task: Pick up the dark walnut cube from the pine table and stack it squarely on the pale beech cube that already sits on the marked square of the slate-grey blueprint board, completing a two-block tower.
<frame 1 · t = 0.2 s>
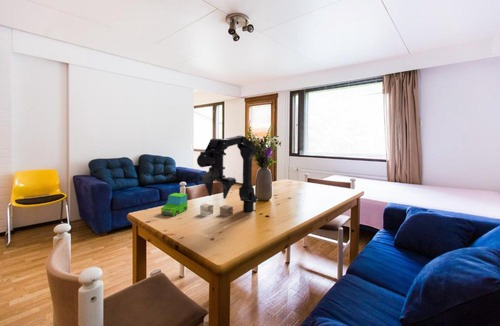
hand: (217, 197, 114), 14 cm above the table, fingers open, 9 cm apart
blueprint board: (205, 214, 131), on the table
walnut block: (226, 215, 130), on the table
toy car: (174, 214, 132), on the table
beech block: (206, 213, 130), point 1 cm above the table, touching blueprint board
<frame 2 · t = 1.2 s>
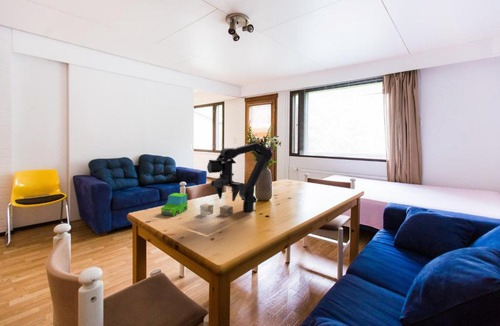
hand: (226, 199, 129), 9 cm above the table, fingers open, 9 cm apart
nothing on the table moved.
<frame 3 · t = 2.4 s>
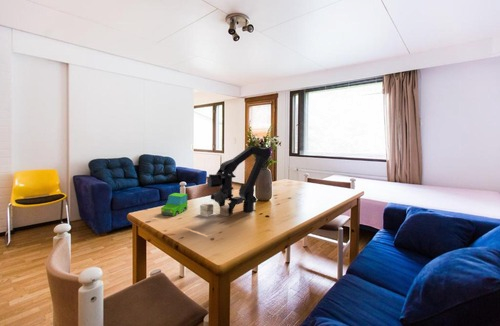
hand: (226, 213, 130), 1 cm above the table, fingers closed on walnut block, 5 cm apart
walnut block: (226, 215, 130), on the table, touching gripper
everything else where it was.
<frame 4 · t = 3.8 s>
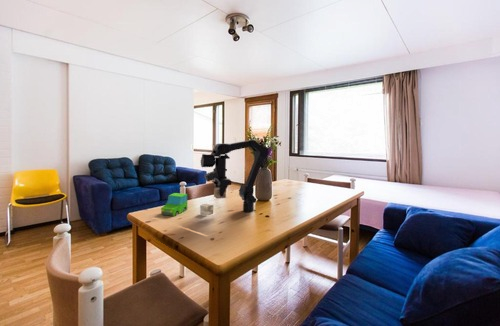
hand: (219, 195, 129), 11 cm above the table, fingers closed on walnut block, 5 cm apart
walnut block: (219, 197, 129), point 10 cm above the table, touching gripper
everything else where it was.
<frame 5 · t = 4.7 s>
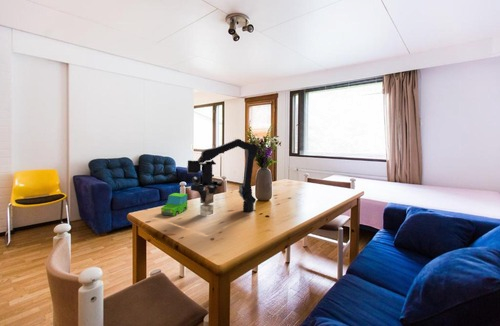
hand: (207, 200, 129), 8 cm above the table, fingers closed on walnut block, 5 cm apart
walnut block: (206, 202, 129), point 7 cm above the table, touching gripper
everything else where it was.
when the fingers open (8 cm above the table, at t = 5.1 s): walnut block stays where it is, resting on beech block.
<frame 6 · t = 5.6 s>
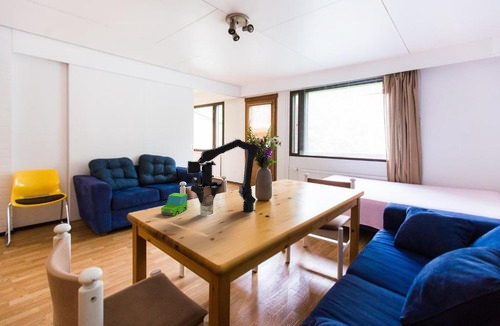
hand: (206, 201, 129), 8 cm above the table, fingers open, 9 cm apart
walnut block: (206, 204, 130), point 6 cm above the table, touching beech block
beech block: (206, 213, 130), point 1 cm above the table, touching blueprint board, walnut block
everything else where it was.
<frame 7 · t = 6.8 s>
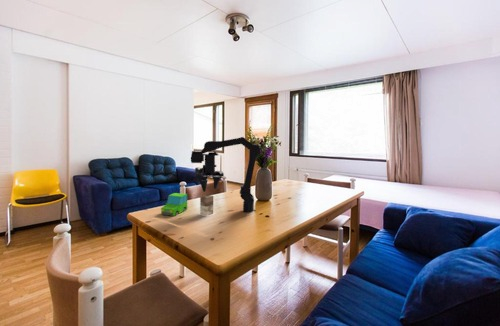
hand: (209, 190, 136), 12 cm above the table, fingers open, 9 cm apart
nothing on the table moved.
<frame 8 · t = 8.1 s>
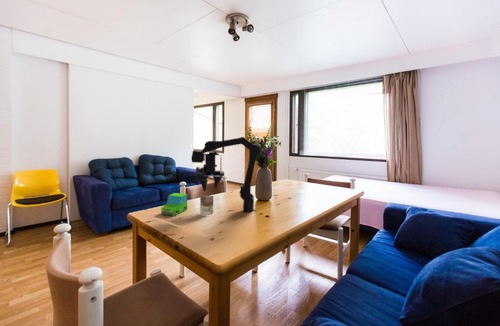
hand: (210, 189, 137), 13 cm above the table, fingers open, 9 cm apart
nothing on the table moved.
at the end: walnut block 0.0 cm off-centre on the beech block, point 5.0 cm above the beech block's base; walnut block tilted 0°; beech block moved 0.0 cm from its start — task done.
